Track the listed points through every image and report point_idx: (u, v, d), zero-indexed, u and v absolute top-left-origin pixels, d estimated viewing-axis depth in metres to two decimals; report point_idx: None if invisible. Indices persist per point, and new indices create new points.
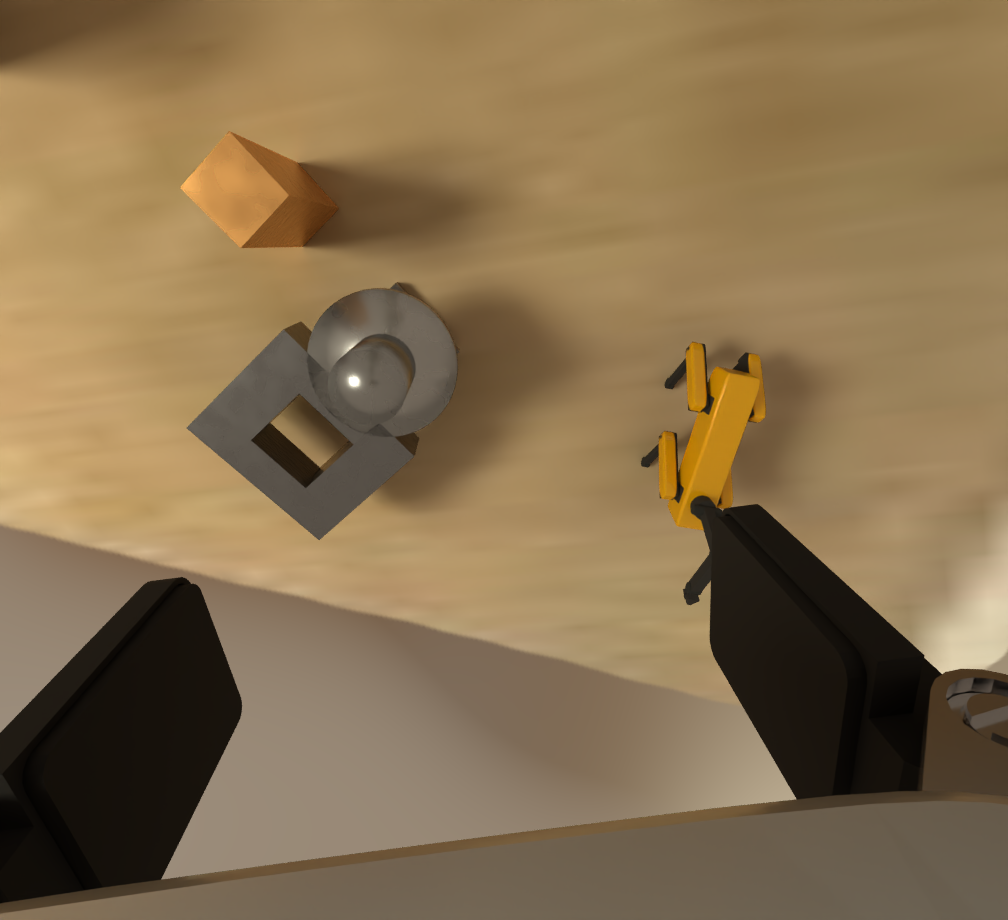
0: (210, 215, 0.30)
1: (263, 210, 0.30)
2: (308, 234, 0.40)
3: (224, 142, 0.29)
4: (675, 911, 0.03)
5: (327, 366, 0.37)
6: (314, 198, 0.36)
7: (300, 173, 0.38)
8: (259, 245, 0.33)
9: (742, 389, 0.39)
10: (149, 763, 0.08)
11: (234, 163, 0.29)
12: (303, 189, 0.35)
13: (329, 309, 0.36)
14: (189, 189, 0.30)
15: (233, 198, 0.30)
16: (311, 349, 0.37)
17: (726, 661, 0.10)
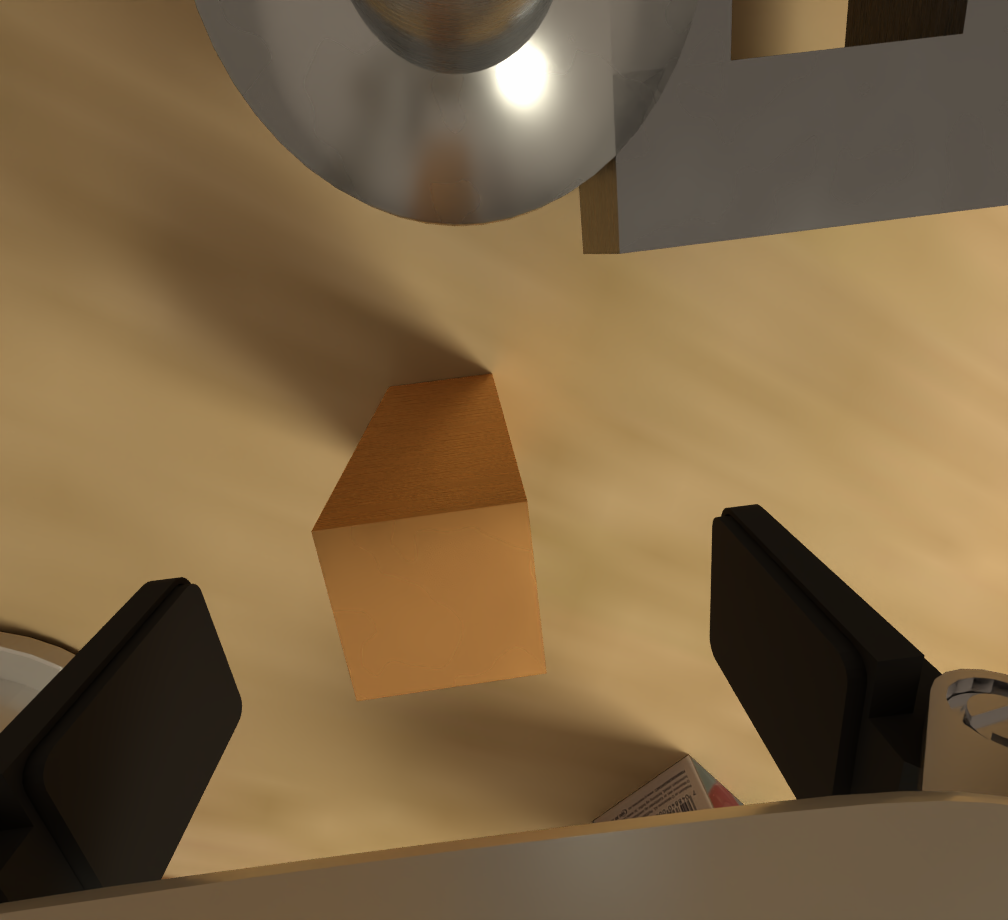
0: (533, 597, 0.11)
1: (403, 538, 0.10)
2: (459, 386, 0.20)
3: (383, 690, 0.12)
4: (673, 911, 0.03)
5: (598, 74, 0.12)
6: None
7: None
8: (506, 456, 0.13)
9: None
10: (149, 763, 0.08)
11: (393, 651, 0.11)
12: None
13: (476, 217, 0.12)
14: (530, 661, 0.12)
15: (452, 597, 0.11)
16: (597, 154, 0.12)
17: (726, 661, 0.10)
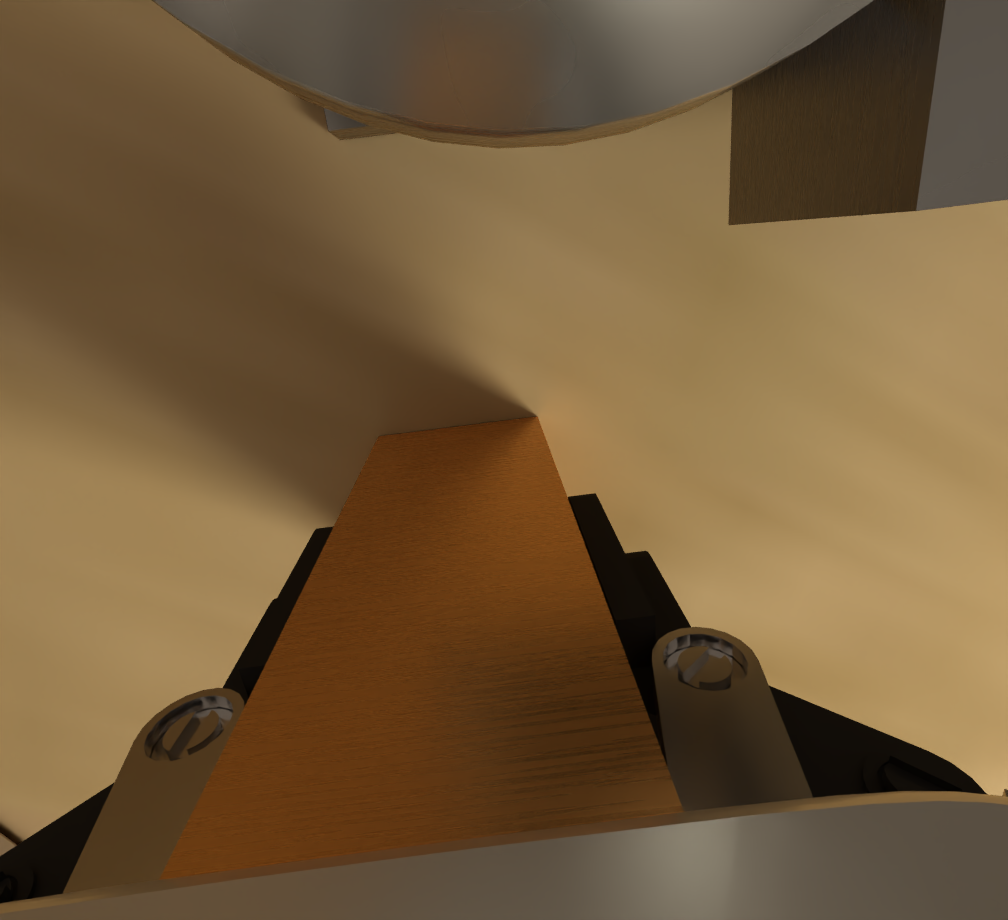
0: None
1: None
2: (488, 442, 0.13)
3: None
4: (673, 913, 0.03)
5: None
6: None
7: None
8: (625, 710, 0.05)
9: None
10: None
11: None
12: None
13: (564, 112, 0.05)
14: None
15: None
16: None
17: None
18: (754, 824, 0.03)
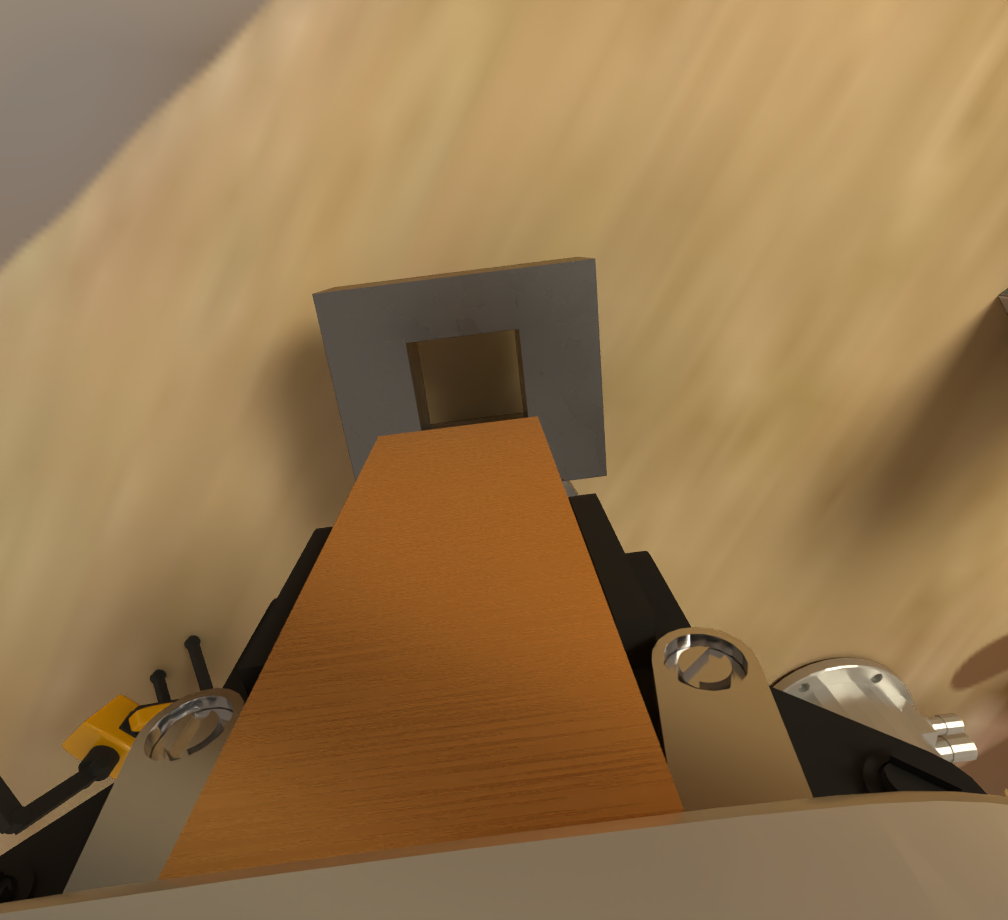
0: None
1: None
2: (489, 442, 0.13)
3: None
4: (675, 911, 0.03)
5: None
6: None
7: None
8: (626, 712, 0.05)
9: None
10: None
11: None
12: None
13: None
14: None
15: None
16: (565, 488, 0.27)
17: None
18: (754, 824, 0.03)
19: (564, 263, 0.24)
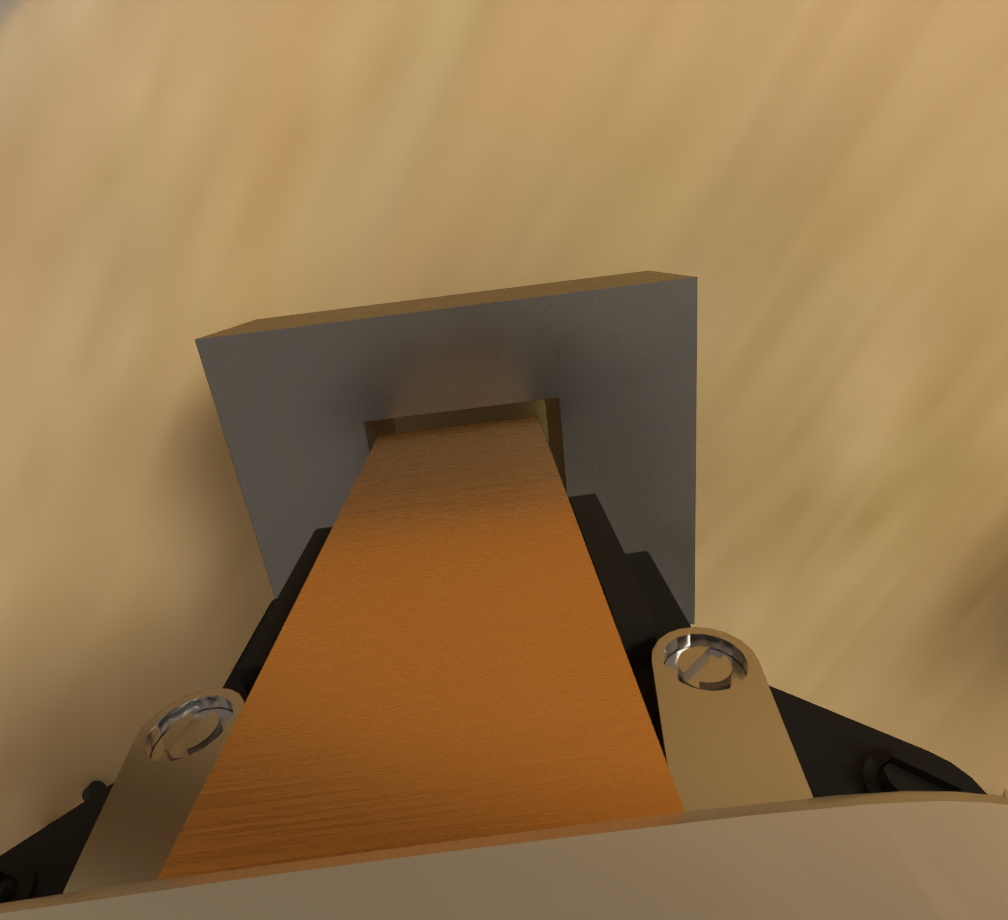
0: None
1: None
2: (488, 441, 0.13)
3: None
4: (675, 913, 0.03)
5: None
6: None
7: None
8: (626, 712, 0.05)
9: None
10: None
11: None
12: None
13: None
14: None
15: None
16: None
17: None
18: (754, 824, 0.03)
19: (642, 285, 0.13)
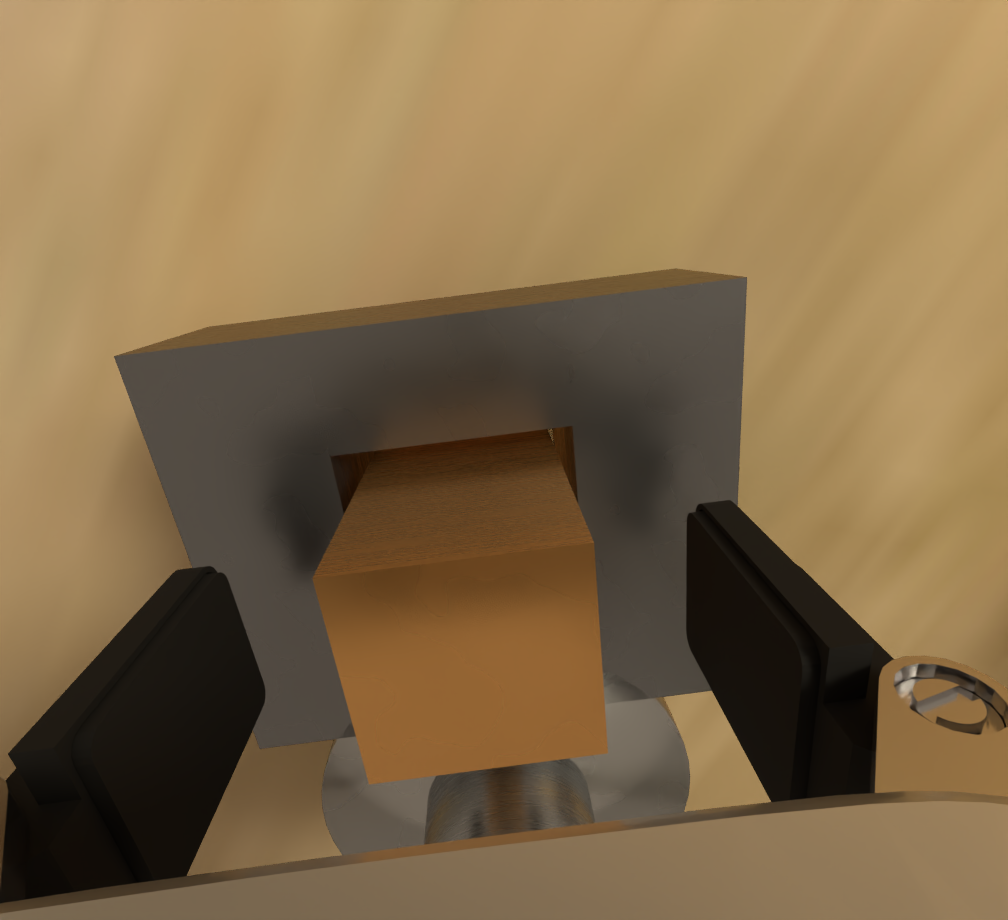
0: (595, 662, 0.09)
1: (431, 588, 0.08)
2: None
3: (402, 771, 0.09)
4: (675, 911, 0.03)
5: None
6: None
7: None
8: (555, 475, 0.10)
9: None
10: (183, 744, 0.08)
11: (415, 725, 0.09)
12: None
13: (686, 782, 0.15)
14: (589, 739, 0.09)
15: (493, 660, 0.09)
16: (649, 710, 0.14)
17: (701, 653, 0.10)
18: (755, 824, 0.03)
19: (678, 288, 0.11)
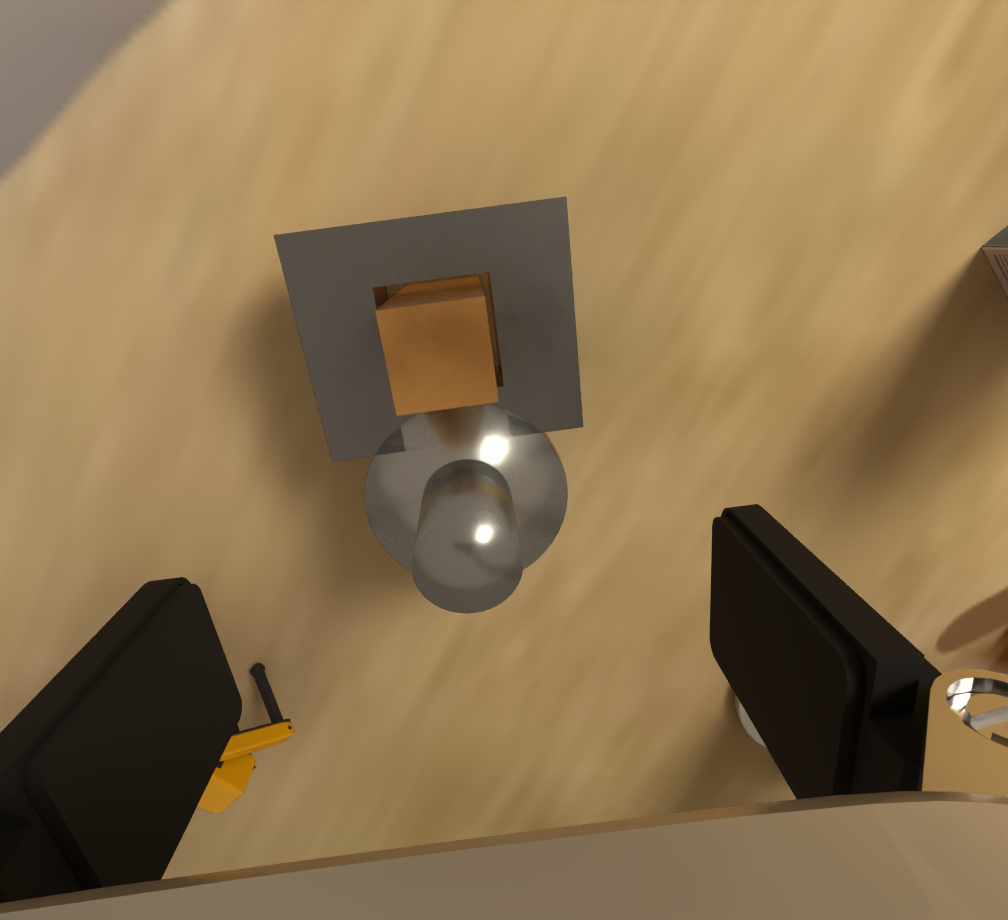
0: (490, 354, 0.21)
1: (421, 316, 0.20)
2: (455, 279, 0.30)
3: (410, 409, 0.22)
4: (675, 913, 0.03)
5: (510, 442, 0.27)
6: None
7: None
8: (478, 290, 0.23)
9: (216, 800, 0.34)
10: (149, 763, 0.08)
11: (415, 384, 0.21)
12: None
13: (565, 489, 0.28)
14: (489, 393, 0.22)
15: (447, 352, 0.21)
16: (541, 440, 0.27)
17: (726, 661, 0.10)
18: (754, 824, 0.03)
19: (534, 201, 0.23)
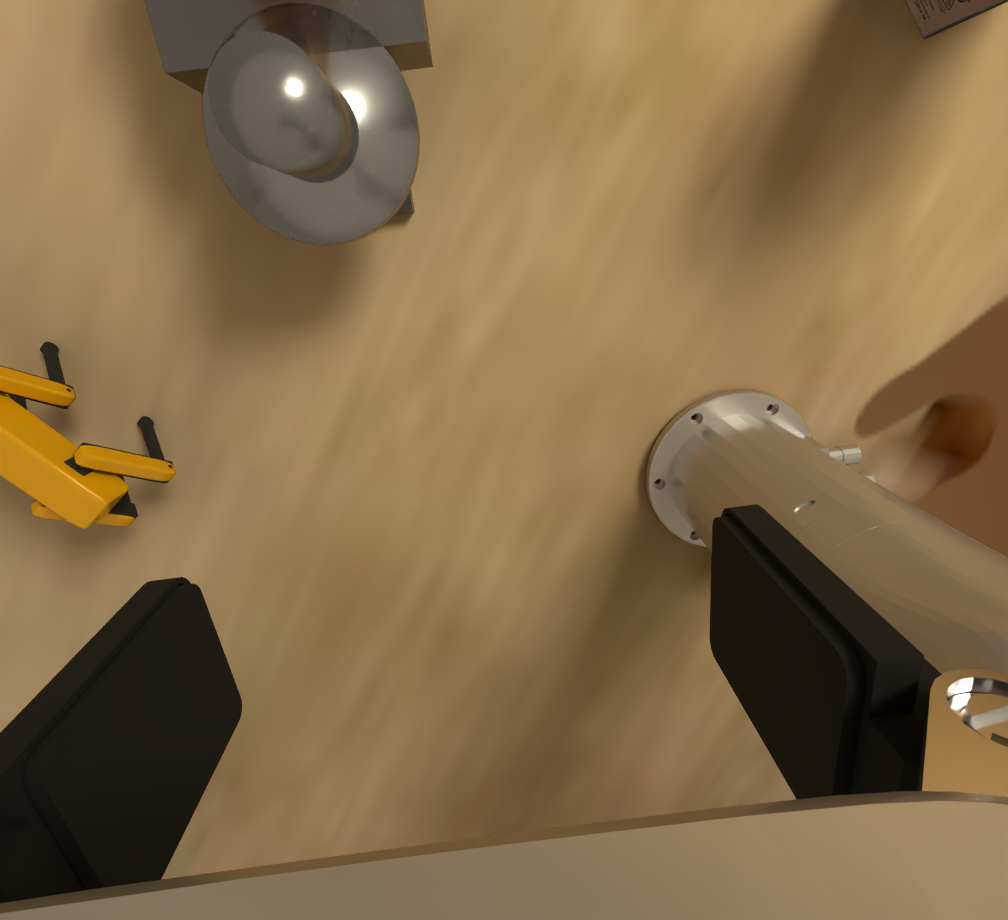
0: None
1: None
2: None
3: None
4: (675, 913, 0.03)
5: (351, 57, 0.26)
6: None
7: None
8: None
9: (78, 508, 0.33)
10: (149, 763, 0.08)
11: None
12: None
13: (414, 122, 0.27)
14: None
15: None
16: (383, 56, 0.26)
17: (726, 661, 0.10)
18: (754, 824, 0.03)
19: None
